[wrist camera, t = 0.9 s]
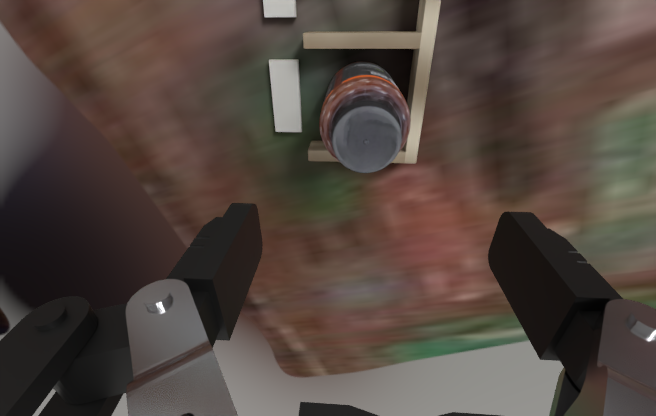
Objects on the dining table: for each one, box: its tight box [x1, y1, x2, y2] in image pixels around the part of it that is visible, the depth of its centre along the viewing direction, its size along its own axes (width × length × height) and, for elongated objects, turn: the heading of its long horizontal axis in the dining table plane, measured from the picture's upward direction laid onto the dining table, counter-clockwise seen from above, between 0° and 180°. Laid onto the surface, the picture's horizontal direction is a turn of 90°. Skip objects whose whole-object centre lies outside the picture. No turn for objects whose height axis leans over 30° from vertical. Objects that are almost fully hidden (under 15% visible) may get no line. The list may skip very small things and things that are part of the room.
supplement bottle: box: [319, 61, 411, 173], centre depth 22 cm, size 6×6×11 cm
